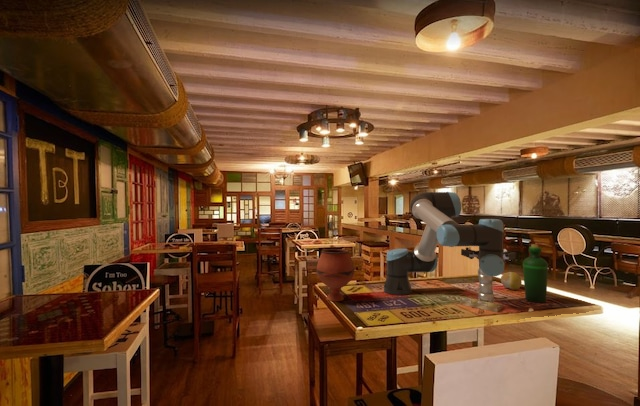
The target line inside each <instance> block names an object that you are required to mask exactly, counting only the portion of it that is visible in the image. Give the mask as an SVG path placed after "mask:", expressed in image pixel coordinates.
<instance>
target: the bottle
mask: <svg viewBox="0 0 640 406" xmlns="http://www.w3.org/2000/svg"><path fill="white" fill-rule="evenodd" d="M530 245H531V246H529V247H528V252H529V256H528V257H526V258H524V260H523V261H522V269H523V270H522V271H523V284H524V296H525V300H528V301H529V302H533V303H539V304H543V303H546V302H547V291H548V290H547V287H548V270H549V269H548V268H549V263H548V262H547V261H546V260H545V259H544V258H543V257H541V253H542V249H541V247H539V244H538V243H537V244H536V243H535V244H534V243H532V244H530Z"/></svg>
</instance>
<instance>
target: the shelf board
mask: <svg viewBox="0 0 640 406" xmlns="http://www.w3.org/2000/svg"><path fill="white" fill-rule="evenodd" d="M459 299H460V302H459V303H460V305H461V306H465V307H466V306H467V307H470V308H475V309H481V310H484V311H490V312H495V313H498V312H500V311H501V310H502V309H504V304H503V303H499V302H498V303H497V302H493V303H490V302H485V301H479V299H477V298H472V297H464V296H460V298H459Z"/></svg>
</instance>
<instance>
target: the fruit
mask: <svg viewBox="0 0 640 406" xmlns="http://www.w3.org/2000/svg"><path fill="white" fill-rule="evenodd" d="M522 281H523V280H522V277H521V276H520V275H519V274H518V273H517V272H515V271H508V272H504V273H502V275H501V277H500V282H501V284H502V286H503V287H504V288H506V289H508V290H512V291H517V290H519V289H520V287H522V283H523V282H522Z"/></svg>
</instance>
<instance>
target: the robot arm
mask: <svg viewBox="0 0 640 406" xmlns="http://www.w3.org/2000/svg"><path fill="white" fill-rule="evenodd" d="M409 210H410V213H411V215H412V216H413V217H414V218H415V219H418V220H421V221H423V222H424V223H425V227H424V230H423V233H422V236H421V239H420V241H419V244H418V245H416V246H415V247H414V250H412V251H410V250H408V249H407V248H394V249H390V250H388V251H387V253H386V259H385V260H386V277H385V278H386V279H385V282H384V284H383V292H384V293H387V294H390V295H395V296H406V295H411V294H412V293H413V292H412V291H413V290H412V286H411V283H410V280H409V273H427V274H428V273H432V272H434V271H436V269H437V267H438V262H439V259H438V258H439V257H438V256H437V253H436V249H437V247H438V244H439V245H440V246H443V247H449V248H454V247H465V249H464V248H461V249H460V255H461V256H463V257H466V258H468V259H469V260H473V259H475V258H476V259H477V260H478V267H479V268H480V269H481V271H482V272H483V273H484V274H486V275H488V276H492V277H493V278H494V277H498V276H500V275H501V274H503V272H504V270H505V262H509V261H511V260H516V259H517V252H516V251H513V252H511V251H510V250H508V249H506V248H504V233H505V231H504V222H503V220H501V219H497V218H480V219H479V221H478V224H460V223H458V222H456V221H455V220H454V219H453V218H457V217H460V215H461V213H462V202H461V199H460V196H459V195H458V193H456V192H453V191H446V192H445V191H444V192H443V191H441V192H440V191H439V192H438V191H437V192H436V191H429V192H428V191H423V192H420V193H418V194H415V195H414V197H412V199H411V200H410V203H409ZM472 247H478V250H473V249H471V248H472ZM504 261H505V262H504Z"/></svg>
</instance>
